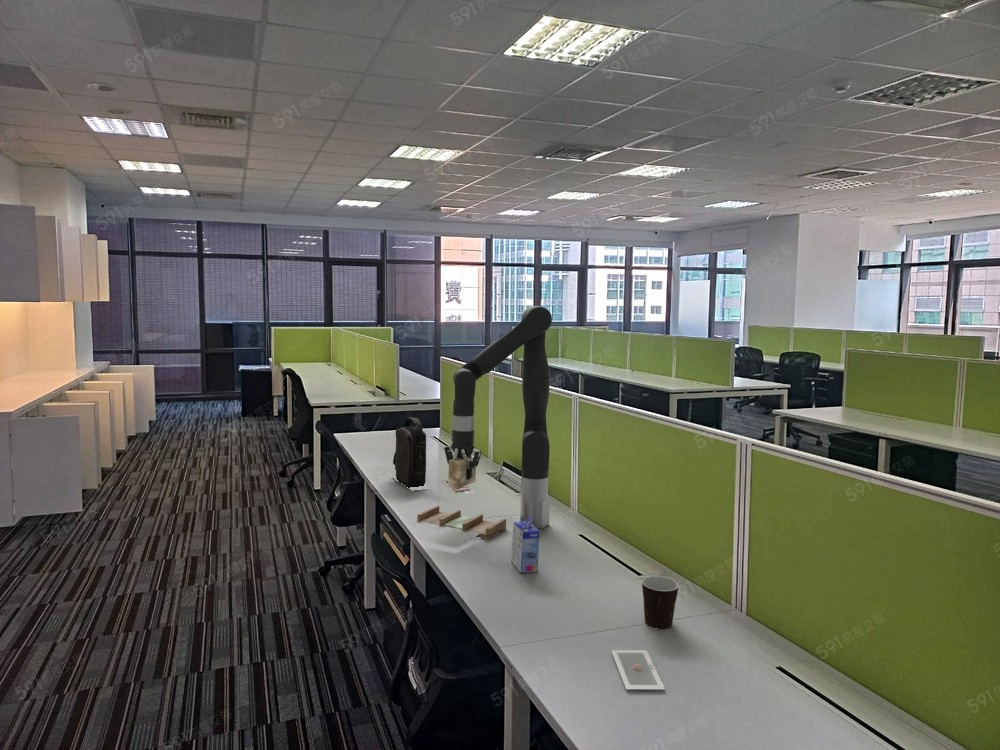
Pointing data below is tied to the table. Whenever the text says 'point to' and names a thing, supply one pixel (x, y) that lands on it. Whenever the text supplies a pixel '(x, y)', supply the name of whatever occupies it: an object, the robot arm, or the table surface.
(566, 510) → the table surface
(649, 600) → the coffee mug
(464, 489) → the plaque
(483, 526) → the notched rack
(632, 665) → the touchpad
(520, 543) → the ink cartridge box
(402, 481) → the shoulder bag
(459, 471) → the tall beige wooden block
